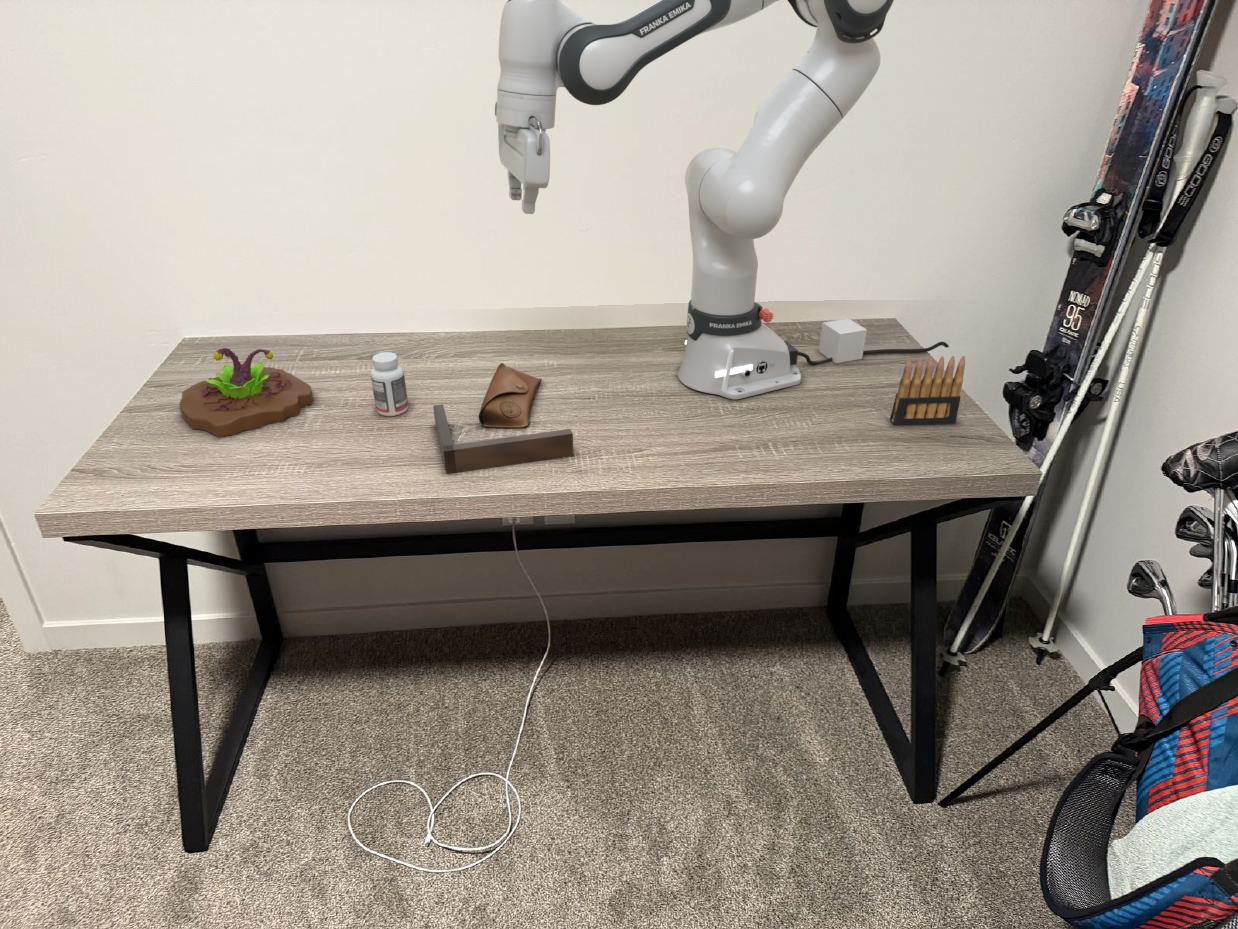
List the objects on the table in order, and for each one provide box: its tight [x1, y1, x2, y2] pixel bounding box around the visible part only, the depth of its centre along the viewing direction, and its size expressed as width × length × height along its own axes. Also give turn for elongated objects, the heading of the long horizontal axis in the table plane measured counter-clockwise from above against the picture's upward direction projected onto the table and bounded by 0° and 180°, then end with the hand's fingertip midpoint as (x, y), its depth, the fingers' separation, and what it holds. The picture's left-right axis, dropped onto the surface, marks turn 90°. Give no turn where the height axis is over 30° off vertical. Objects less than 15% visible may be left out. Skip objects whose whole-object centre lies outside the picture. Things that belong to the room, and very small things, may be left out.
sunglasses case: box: [478, 362, 542, 429], centre depth 146 cm, size 18×7×7 cm
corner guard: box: [432, 404, 574, 475], centre depth 135 cm, size 20×15×4 cm
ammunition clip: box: [889, 355, 966, 427], centre depth 140 cm, size 11×2×12 cm, turn 94°
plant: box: [179, 347, 314, 438], centre depth 143 cm, size 20×20×11 cm
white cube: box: [818, 318, 868, 364], centre depth 164 cm, size 6×6×6 cm
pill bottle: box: [370, 351, 409, 417], centre depth 142 cm, size 5×5×10 cm
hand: (521, 205), depth 135 cm, fingers open, 8 cm apart
